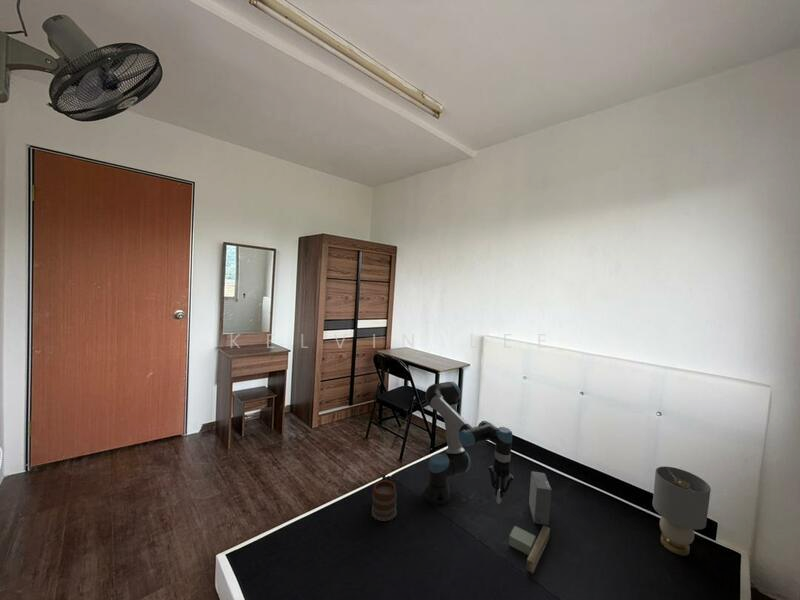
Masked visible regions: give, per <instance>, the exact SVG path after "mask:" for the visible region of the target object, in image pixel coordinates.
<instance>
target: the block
mask: <svg viewBox="0 0 800 600" xmlns="http://www.w3.org/2000/svg"><path fill="white" fill-rule="evenodd" d="M535 542H536V535H534V534H532V533H530V532H529V531H526V530H524V529H522V528H521V527H518V526H517V525H514V526H513V528H512V530H511V532H510V534H509V538H508V546H510V547H513V548H514V549H515V550H518V551H519V552H521V553H523V554H525V555H527V556H529V554H530V552H531V550H532V548H533V546H534V544H535Z"/></svg>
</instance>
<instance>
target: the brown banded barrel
mask: <svg viewBox="0 0 800 600" xmlns="http://www.w3.org/2000/svg"><path fill="white" fill-rule="evenodd" d="M396 487H397V486H396V484H395V483H394V482H392V481H391V480H387V476H386V474H385V473H384V474H382V478H381V480H379V481H377V482H376V483H375V484H374V486H373V491H372V495H371V496H372V502H371V505H372V508H371V510H372V511H370V513H372V514H371V517H372V518H373V517H374V518H375V519H374V518H373V519H374V520H376V519H377V520H380V521H388V520H390V521H392V520H394V519H395V518H396V516H397V514H398V513H397V512H398V511H397V488H396ZM394 517H395V518H394ZM393 518H394V519H393ZM391 519H392V520H391ZM377 520H376V521H377ZM380 521H379V522H380ZM388 522H389V521H388Z"/></svg>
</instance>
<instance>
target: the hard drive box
mask: <svg viewBox="0 0 800 600" xmlns="http://www.w3.org/2000/svg"><path fill="white" fill-rule="evenodd" d="M530 472H531V473H530V484H529V485H530V487H529V498H528V505H529V509H530V512H531V517H532V520H533V523H534V524H538V525H542V526H550V515H551V514H550V513H551V503H552V502H551V501H552V491H553V490H552V488H551V486H550V483H549V480H548V478H547V475H546V473H545V472H539V471H533V470H532V471H530Z"/></svg>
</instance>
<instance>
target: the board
mask: <svg viewBox="0 0 800 600" xmlns="http://www.w3.org/2000/svg"><path fill="white" fill-rule="evenodd" d="M550 532H551V527H548V526H547V525H542V527H541V530H540V532H539V534H538V536H537V538H536V539H535V544H534V546H533V548H532V550H531V552H530V554H529V555H527V558H526V570H525V571H528V573H529V572H530V573H531V574H534V573H535V571H536V568H537V566H538V564H539V562H540V560H541V557H542V556H543V555H542V554H543V553H544V550H545V548H546V547H547V543H548V541H549V539H550V534H551V533H550Z"/></svg>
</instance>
